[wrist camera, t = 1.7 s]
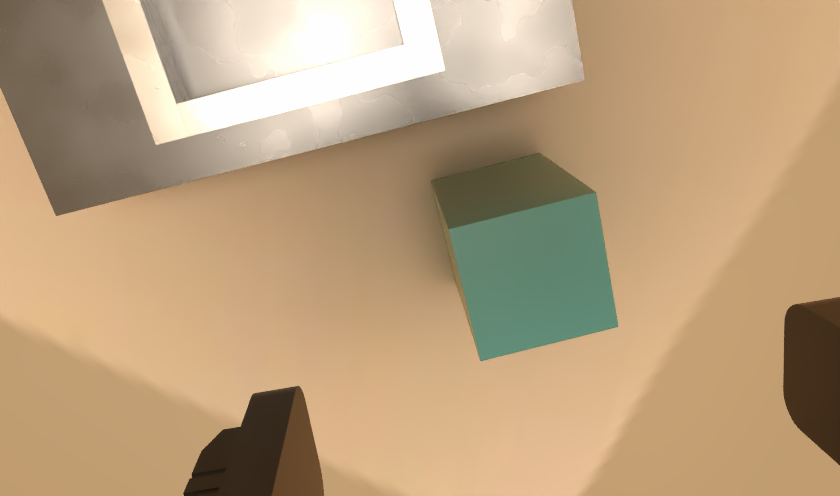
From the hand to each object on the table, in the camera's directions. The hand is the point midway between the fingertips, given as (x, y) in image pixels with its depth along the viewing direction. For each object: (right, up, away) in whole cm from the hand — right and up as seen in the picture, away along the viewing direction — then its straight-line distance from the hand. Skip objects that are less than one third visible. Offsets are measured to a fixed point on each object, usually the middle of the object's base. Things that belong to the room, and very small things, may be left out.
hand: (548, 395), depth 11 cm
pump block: (+1, +4, +19) cm, 20 cm away
